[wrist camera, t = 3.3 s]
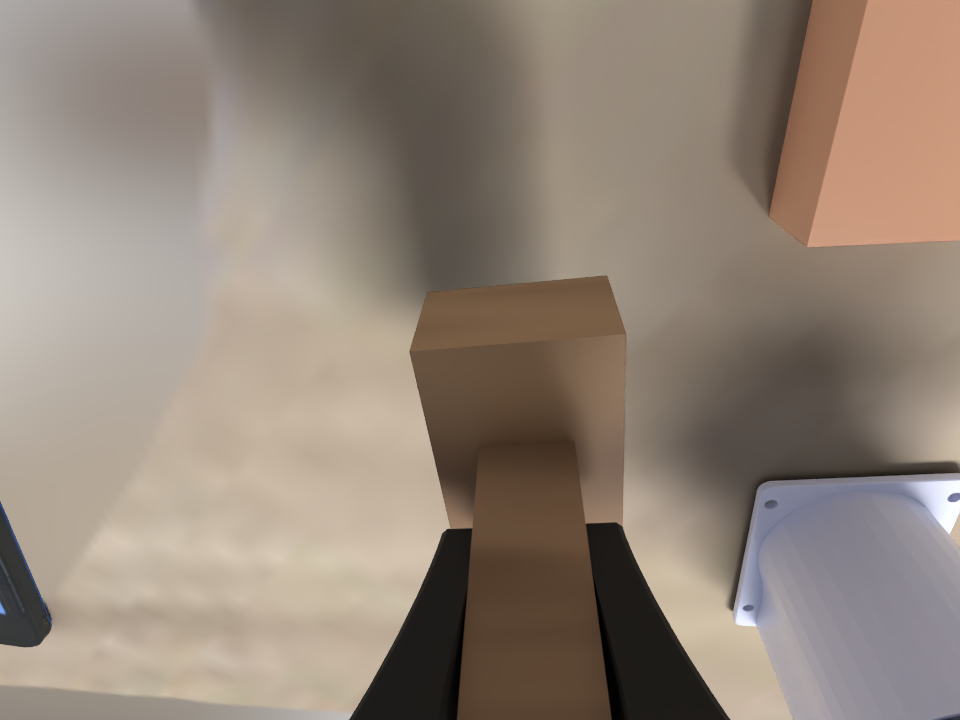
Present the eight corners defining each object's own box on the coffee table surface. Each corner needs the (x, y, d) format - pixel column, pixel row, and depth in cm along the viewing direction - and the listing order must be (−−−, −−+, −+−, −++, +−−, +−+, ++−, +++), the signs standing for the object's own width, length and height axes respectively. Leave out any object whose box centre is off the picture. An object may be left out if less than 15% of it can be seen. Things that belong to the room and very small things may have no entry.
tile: (967, 203, 17) (1046, 236, 15) (765, 214, 18) (806, 247, 15) (1061, -35, 14) (1182, -47, 11) (810, -13, 14) (872, -19, 12)
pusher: (607, 522, 16) (670, 884, 10) (474, 528, 17) (446, 877, 10) (607, 275, 12) (720, 622, 5) (427, 291, 13) (325, 630, 6)
